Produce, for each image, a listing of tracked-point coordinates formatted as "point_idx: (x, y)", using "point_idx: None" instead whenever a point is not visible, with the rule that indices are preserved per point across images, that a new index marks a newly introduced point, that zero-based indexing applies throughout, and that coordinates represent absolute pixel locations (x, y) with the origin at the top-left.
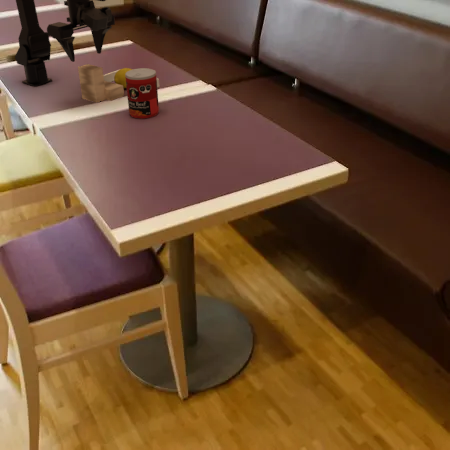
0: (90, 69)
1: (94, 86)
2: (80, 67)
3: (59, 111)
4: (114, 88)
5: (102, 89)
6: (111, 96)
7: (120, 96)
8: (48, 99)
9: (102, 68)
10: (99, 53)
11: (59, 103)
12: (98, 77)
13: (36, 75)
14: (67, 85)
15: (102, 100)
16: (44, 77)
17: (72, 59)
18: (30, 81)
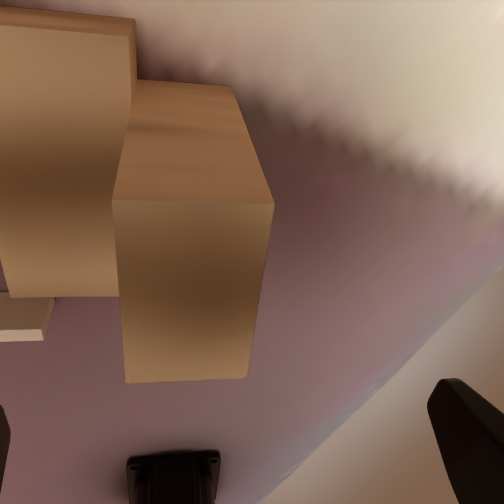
0: (248, 254)
1: (246, 135)
2: (246, 357)
3: (442, 174)
4: (61, 37)
5: (161, 108)
6: (123, 24)
7: (20, 9)
8: (312, 329)
9: (114, 194)
10: (1, 406)
11: (337, 258)
12: (193, 158)
13: (201, 498)
14: (119, 395)
15: (174, 83)
16: (172, 479)
17: (480, 403)
18: (212, 483)
